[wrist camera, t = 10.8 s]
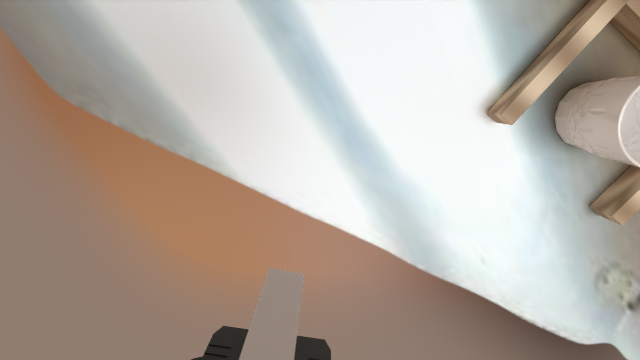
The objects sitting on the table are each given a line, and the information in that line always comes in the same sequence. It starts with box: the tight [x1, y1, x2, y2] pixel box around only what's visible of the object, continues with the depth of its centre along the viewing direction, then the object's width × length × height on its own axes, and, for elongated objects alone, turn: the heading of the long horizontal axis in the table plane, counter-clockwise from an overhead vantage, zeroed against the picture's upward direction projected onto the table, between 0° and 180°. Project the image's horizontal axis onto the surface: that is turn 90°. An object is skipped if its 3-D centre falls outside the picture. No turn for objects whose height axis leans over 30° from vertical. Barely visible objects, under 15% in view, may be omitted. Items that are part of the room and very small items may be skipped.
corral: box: [487, 0, 640, 225], centre depth 39 cm, size 16×17×4 cm
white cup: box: [555, 75, 640, 168], centre depth 36 cm, size 8×8×10 cm
